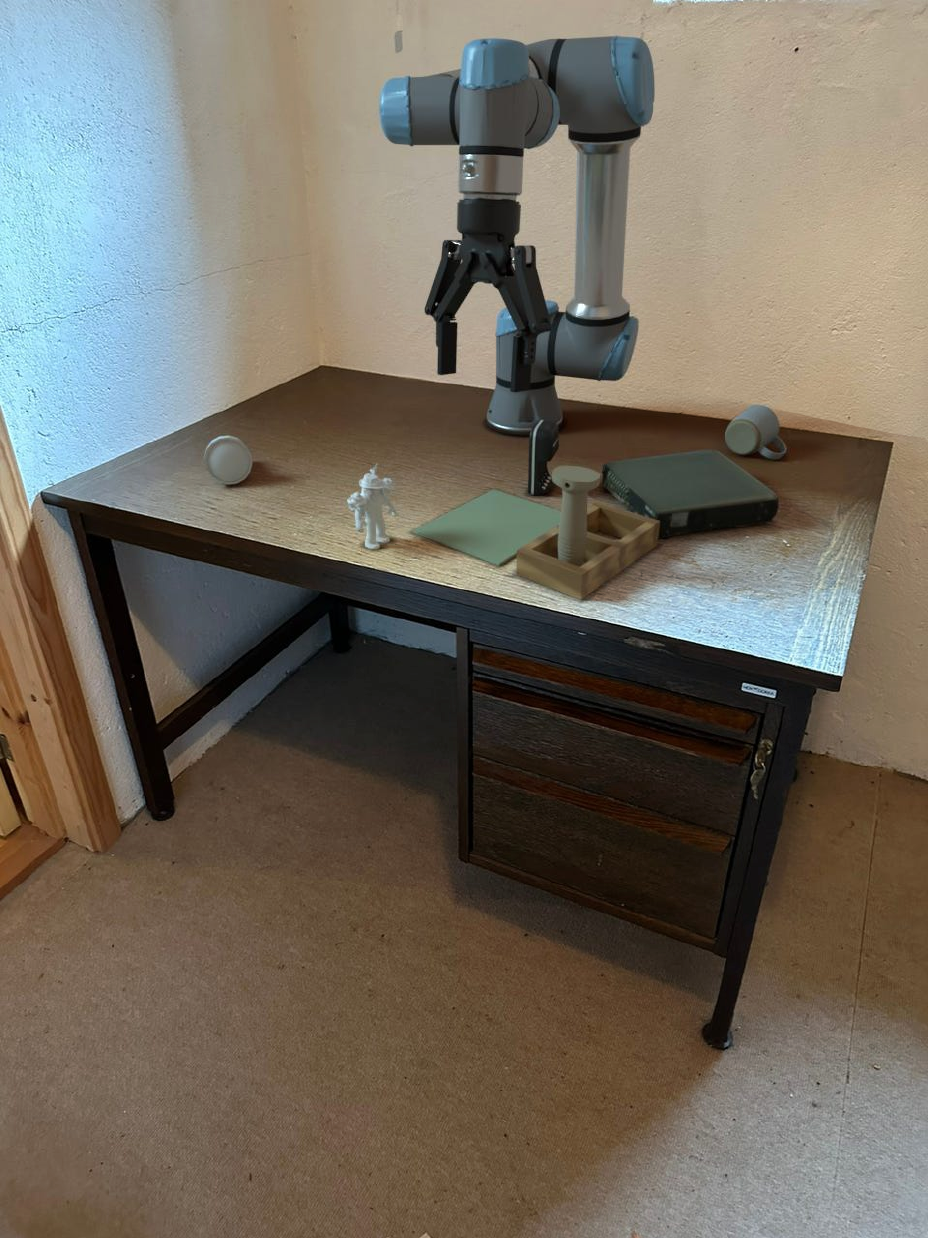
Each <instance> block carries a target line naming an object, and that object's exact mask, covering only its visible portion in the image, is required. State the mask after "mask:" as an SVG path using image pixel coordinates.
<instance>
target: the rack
mask: <svg viewBox="0 0 928 1238" xmlns="http://www.w3.org/2000/svg"><path fill="white" fill-rule="evenodd" d="M659 527H660V521H658V520H655V519H652V518H649V517H645V516H642V515H639V514H636V513H633V512H630V511H629V510H626V509H623V508H619V507H616V506H614V505H609V504H606V503H603V502H600V501H596V502H594V503H592V504H590V505H588V506H587V542H586V550H585V556H584V560H583V562H585V563H583V565H582V566H581V567H578V566H575V565H573V564H570V563H567V562H564V561H562V560H559V558H558V532H559V525H558V526H556V527H554V528H553V529H551V530H549V531H548V532H546V533H545V534H543V535H541V536H540V537H538V538H536V539H535V540H533V541H531V542H530V543H528V544H526V545H525V546H523V547H521V548H520V549H518V550H517V555H516V571H515V573H516V576H518V577H520V578H523V579H526V580H528V581H531V582H533V583H536V584H539V585H542V586H543V587H547V588H549V589H552V590H554V591H557V592H559V593H562V594H564V595H567V596H569V597H572V598H575V599H577V600H580V601H582V600H583V599H585V598H586V597H587V596H589V595H590V594H591V593H593V592H595V590H597V589H598V588H600V587H601V586H603V585H604V584H605V583H607V582H608V581H610V580H611V579H612V578H614V577H615V576H617V575H618V574H619V573H621V572H622V571H624V570H625V569H626V568H628V567H629V566H630V565H632V564H634V562H636V561H637V560H639V559H640V558H641V557H643V556H644V555H646V554H647V553H648V552H650V551H651V550H653V549H654V548H655V547H657V546H658V544H659V538H658V535H659ZM597 532H601V533H605V534H607V535H610V536H613V537H615V538H619V539H618V540H614V539H611V538H608V537H605V536H602V535H600V534H596V533H597Z"/></svg>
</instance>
